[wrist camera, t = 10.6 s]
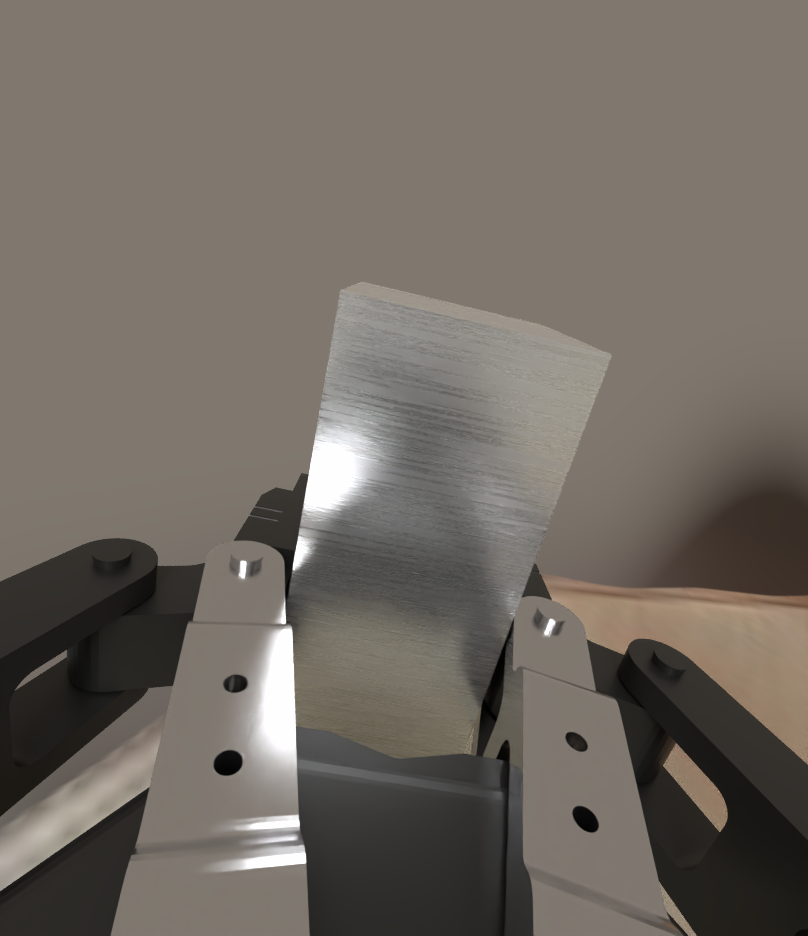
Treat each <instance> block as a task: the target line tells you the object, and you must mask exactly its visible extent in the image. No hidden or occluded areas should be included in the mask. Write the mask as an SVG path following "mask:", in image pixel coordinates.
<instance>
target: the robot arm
mask: <svg viewBox="0 0 808 936" xmlns="http://www.w3.org/2000/svg"><path fill="white" fill-rule="evenodd" d="M308 477H309V475H308V474H303V473H302V474H301V476H300V477H299V480H298V482H297V484H296V486H295V488H294V490H293V491H290V490H285V489H280V488H275V489H272V490H270V491H269V492H267V493H265V494H263V495H261V497H260V499H259V500H258V502H257V504H256V505H255V508H254V509H253V510H252V512H251V513H250V516H249V517H248V518H247V520H246V522H245V523H244V525H243V527H242V528H241V530H240V531H239V533H238V535H237V537H236V538H235V539H234V541H232V542H227V543H223V544H221V545H219V546H217V547H215V548H213V550H211V551H210V552H209V554H208V555H207V558H206V562H205V563H203V564H198V565H191V566H157V564H158V556H157V554H156V552H155V551H154V550H153V548H151V547H150V546H148V545H147V544H145V543H142V542H139V541H135V540H130V539H120V538H116V539H115V538H114V539H102V540H97V541H93V542H89V543H86V544H84V545H81V546H79V547H77V548H74V549H72V550H70V551H68V552H66V553H63V554H61V555H59V556H57V557H54V558H52V559H50V560H48V561H46V562H43V563H41V564H39V565H36V566H34V567H32V568H30V569H28V570H25V571H23V572H21V573H19V574H16V575H14V576H12V577H10V578H7V579H5V580H3V581H1V582H0V816H1V815H3V814H4V813H5V812H6V811H7V810H8V809H10V808H11V807H12V806H13V805H14V804H16V803H17V802H18V801H19V800H21V799H22V798H23V797H24V796H25V795H26V794H27V793H29V792H30V791H31V790H32V789H34V788H35V787H36V786H37V785H38V784H39V783H41V782H42V781H43V780H44V779H46V778H47V777H48V776H49V775H50V774H51V773H53V772H54V771H55V770H56V769H57V768H59V767H60V766H61V765H62V764H63V763H65V762H66V761H67V760H68V759H69V758H71V757H72V756H73V755H74V754H75V753H77V752H78V751H79V750H80V749H81V748H83V746H85V745H86V744H87V743H89V742H90V741H91V740H92V739H93V738H95V737H96V736H97V735H98V734H99V733H100V732H102V731H103V730H104V729H105V728H106V727H108V726H109V725H110V724H111V723H112V722H114V721H115V720H116V719H117V718H118V717H120V716H121V715H122V714H123V713H124V712H126V711H127V710H128V709H129V708H130V707H132V706H133V705H134V704H135V703H136V702H137V701H139V699H141V698H142V697H143V696H144V694H145V693H146V692H147V690H148V688H153V687H164V686H173V689H172V693H171V697H170V702H169V706H168V710H167V715H166V719H165V723H164V728H163V732H162V736H161V741H160V745H159V749H158V754H157V758H156V762H155V766H154V771H153V775H152V779H151V784H150V787H149V788H147V789H146V790H145V791H143V792H142V793H140V794H139V795H137V796H136V797H135V798H133V799H132V800H130V801H129V802H127V803H126V804H125V805H123V806H122V807H120V808H119V809H117V810H116V811H115V812H113V813H112V814H110V815H109V816H107V817H106V818H105V819H103V820H102V821H100V822H99V823H97V824H96V825H95V826H93V827H92V828H90V829H89V830H87V831H86V832H85V833H83V834H82V835H80V836H79V837H77V838H76V839H75V840H73V841H72V842H70V843H69V844H67V845H66V846H65V847H63V848H62V849H60V850H59V851H57V852H56V853H55V854H53V855H52V856H50V857H49V858H47V859H46V860H44V861H43V862H42V863H40V864H39V865H37V866H36V867H34V868H33V869H32V870H30V871H29V872H27V873H26V874H24V875H23V876H22V877H20V878H19V879H17V880H16V881H14V882H13V883H12V884H10V885H9V886H7V887H6V888H4V889H3V890H2V891H0V936H688V935H687V934H686V932H685V931H684V930H683V929H682V928H681V927H680V926H679V925H678V924H677V923H676V921H675V920H674V919H673V918H672V917H671V916H670V915H669V914H668V913H667V911H666V909H665V906H664V902H663V897H662V893H661V889H660V884H659V882H660V883H661V885H662V886H663V888H664V889H665V891H666V892H667V893H668V895H669V896H670V898H671V899H672V901H673V902H674V903H675V905H676V906H677V908H678V909H679V911H680V912H681V913H682V915H683V916H684V918H685V919H686V921H687V922H688V923H689V925H690V926H691V928H692V929H693V931H694V932H695V933H696V935H697V936H808V765H807V764H806V763H805V762H804V761H803V760H802V759H801V758H800V757H798V756H797V755H796V754H795V753H794V752H793V751H792V750H791V749H790V748H788V747H787V746H786V745H785V744H784V743H783V742H782V741H781V740H780V739H778V738H777V737H776V736H775V735H774V734H773V733H772V732H771V731H769V730H768V729H767V728H766V727H765V726H764V725H763V724H762V723H761V722H759V721H758V720H757V719H756V718H755V717H754V716H753V715H752V714H751V713H749V712H748V711H747V710H746V709H745V708H744V707H743V706H742V705H740V704H739V703H738V702H737V701H736V700H735V699H734V698H733V697H732V696H730V695H729V694H728V693H727V692H726V691H725V690H724V689H723V688H722V687H720V686H719V685H718V684H717V683H716V682H715V681H714V680H713V679H711V678H710V677H709V676H708V675H707V674H706V673H705V672H704V671H703V670H701V669H700V668H699V667H698V666H697V665H696V664H695V663H694V662H693V661H691V660H690V659H689V658H688V657H686V656H685V655H684V654H682V653H681V652H679V651H677V650H676V649H674V648H672V647H670V646H668V645H666V644H663V643H661V642H658V641H654V640H650V639H636V640H634V641H632V642H631V643H630V644H629V646H628V649H627V651H626V653H625V655H623V654H620V653H618V652H615V651H613V650H610V649H608V648H605V647H603V646H600V645H598V644H595V643H593V642H591V641H589V640H587V639H586V633H585V629H584V626H583V624H582V622H581V621H580V619H579V618H578V617H577V616H576V615H575V614H574V613H573V612H571V611H570V610H569V609H567V608H566V607H564V606H563V605H561V604H559V603H557V602H555V601H552V599H551V597H550V595H549V592H548V590H547V588H546V585H545V583H544V581H543V579H542V576H541V574H539V570H538V568H537V565H536V564H535V562H534V565H533V568H532V570H531V573H530V576H529V578H528V581H527V584H526V586H525V589H524V592H523V594H522V597H521V600H520V603H519V605H518V608H517V611H516V613H515V616H514V619H513V621H512V624H511V627H510V629H509V632H508V635H507V637H506V640H505V643H504V645H503V648H502V651H501V653H500V656H499V659H498V661H497V664H496V667H495V669H494V672H493V675H492V678H491V680H490V683H489V686H488V688H487V691H486V694H485V696H484V699H483V702H482V704H481V707H480V710H479V712H478V715H477V718H476V720H475V724H474V733H473V741H472V750H471V755H469V754H451V755H439V756H427V757H415V758H394V757H391V756H388V755H386V754H383V753H381V752H378V751H376V750H374V749H371V748H369V747H366V746H364V745H361V744H359V743H357V742H354V741H352V740H349V739H347V738H344V737H342V736H340V735H337V734H335V733H332V732H329V731H323V730H317V729H311V728H305V727H299V726H295V699H294V671H293V643H292V626H291V624H286V619H285V611H286V605H287V599H288V593H289V587H290V582H291V576H292V570H293V564H294V558H295V553H296V547H297V541H298V535H299V529H300V523H301V518H302V512H303V506H304V500H305V494H306V489H307V483H308ZM65 650H67V658H65V659H64V660H62V661H60V662H59V663H57V664H56V665H54V666H53V667H51V668H50V669H48V670H46V671H45V672H43V673H42V674H40V675H39V676H37V677H36V678H34V679H33V680H31V681H30V682H28V683H26V684H25V685H23V686H22V687H20V688H19V689H17V690H15V689H16V688H17V686H18V685H19V684H20V682H21V681H22V680H23V679H24V678H25V677H26V676H27V675H29V674H30V673H31V672H32V671H34V670H35V669H37V668H38V667H40V666H42V665H43V664H45V663H46V662H48V661H49V660H51V659H53V658H54V657H56V656H57V655H59V654H61V653H62V652H64V651H65ZM676 743H677V744H678V745H679V746H680V747H681V748H682V750H683V751H684V752H685V753H686V754H687V755H688V756H689V757H690V758H691V759H692V761H693V762H694V763H695V764H696V765H697V766H698V767H699V768H700V769H701V770H702V771H703V773H704V774H705V775H706V776H707V777H708V778H709V779H710V780H711V781H712V782H713V784H714V785H715V786H716V787H717V788H718V789H719V791H720V793H721V794H722V796H723V798H724V800H725V803H726V806H727V811H728V819H727V822H726V824H725V826H724V828H723V829H722V830H721V832H719V831H718V830H717V829H716V828H715V826H714V825H713V824H712V823H711V822H710V821H709V819H708V818H707V817H706V816H705V815H704V814H703V812H702V811H701V810H700V809H699V808H698V806H697V805H696V804H695V803H694V802H693V801H692V799H691V798H690V797H689V796H688V795H687V794H686V792H685V791H684V790H683V789H682V788H681V787H680V785H679V784H678V783H677V782H676V781H675V779H674V778H673V777H672V776H671V775H670V774H669V772H668V771H667V770H666V769H665V768H664V767H663V764H664V763H665V761H666V759H667V758H668V756H669V754H670V752H671V751H672V749H673V747H674V745H675V744H676Z"/></svg>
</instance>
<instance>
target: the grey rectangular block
mask: <svg viewBox="0 0 808 936" xmlns="http://www.w3.org/2000/svg"><path fill="white" fill-rule="evenodd" d="M611 356H612V355H611V354H609V353H607V352H604V351H602V350H600V349H597V348H595V347H593V346H590V345H588V344H586V343H583V342H581V341H578V340H576V339H574V338H572V337H569V336H567V335H564V334H562V333H560V332H558V331H555V330H553V329H551V328H548V327H546V326H543V325H540V324H537V323H532V322H528V321H524V320H520V319H516V318H512V317H507V316H503V315H499V314H495V313H490V312H487V311H482V310H478V309H474V308H470V307H466V306H461V305H457V304H453V303H449V302H445V301H440V300H437V299H432V298H428V297H424V296H420V295H416V294H412V293H407V292H403V291H399V290H395V289H391V288H387V287H383V286H378V285H374V284H370V283H366V282H360V283H358V284H355V285H352V286H350V287H347V288H345V289H342V290H341V291H340V297H339V302H338V309H337V314H336V320H335V326H334V332H333V337H332V343H331V349H330V355H329V361H328V367H327V372H326V378H325V384H324V390H323V396H322V401H321V407H320V413H319V419H318V425H317V430H316V436H315V442H314V448H313V454H312V459H311V465H310V471H309V477H308V483H307V489H306V494H305V500H304V506H303V512H302V518H301V523H300V529H299V535H298V541H297V547H296V553H295V558H294V564H293V570H292V576H291V582H290V587H289V593H288V599H287V605H286V611H285V619H286V624H291V626H292V643H293V671H294V699H295V726H299V727H305V728H311V729H317V730H323V731H329V732H332V733H335V734H337V735H340V736H342V737H344V738H347V739H349V740H352V741H354V742H357V743H359V744H361V745H364V746H366V747H369V748H371V749H374V750H376V751H378V752H381V753H383V754H386V755H388V756H391V757H394V758H415V757H427V756H439V755H451V754H463V753H464V750H465V747H466V744H467V742H468V739H469V736H470V734H471V731H472V728H473V726H474V723H475V720H476V718H477V715H478V712H479V710H480V707H481V704H482V702H483V699H484V696H485V694H486V691H487V688H488V686H489V683H490V680H491V678H492V675H493V672H494V669H495V667H496V664H497V661H498V659H499V656H500V653H501V651H502V648H503V645H504V643H505V640H506V637H507V635H508V632H509V629H510V627H511V624H512V621H513V619H514V616H515V613H516V611H517V608H518V605H519V603H520V600H521V597H522V594H523V592H524V589H525V586H526V584H527V581H528V578H529V576H530V573H531V570H532V568H533V565H534V562H535V560H536V557H537V554H538V552H539V549H540V546H541V544H542V541H543V538H544V536H545V533H546V530H547V527H548V525H549V522H550V519H551V517H552V514H553V511H554V509H555V506H556V503H557V501H558V498H559V495H560V493H561V490H562V487H563V485H564V482H565V479H566V476H567V474H568V471H569V469H570V466H571V463H572V461H573V458H574V455H575V452H576V450H577V447H578V444H579V442H580V439H581V436H582V434H583V431H584V428H585V426H586V423H587V420H588V418H589V415H590V412H591V409H592V407H593V404H594V401H595V399H596V396H597V393H598V391H599V388H600V385H601V383H602V380H603V377H604V375H605V372H606V369H607V367H608V364H609V361H610V359H611Z"/></svg>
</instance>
